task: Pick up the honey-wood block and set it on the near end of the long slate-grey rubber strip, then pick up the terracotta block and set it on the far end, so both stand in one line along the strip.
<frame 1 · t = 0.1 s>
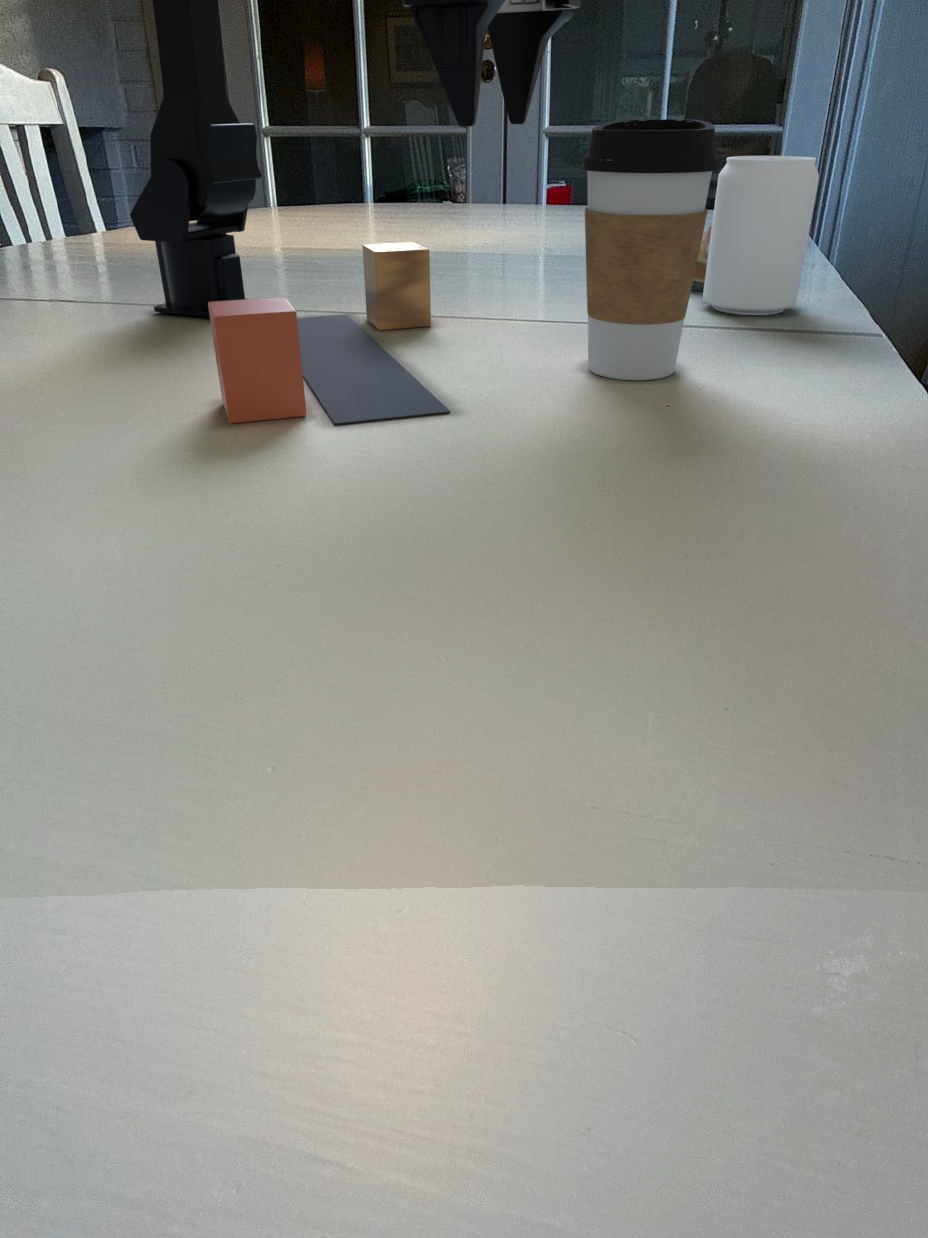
hand: (493, 124, 61), 15 cm above the table, tool pointing down, fingers open, 9 cm apart
beverage can: (747, 310, 78), on the table
coffee cup: (630, 371, 60), on the table
wood block: (398, 322, 74), on the table
terracotta block: (263, 409, 53), on the table
line strip: (342, 358, 63), on the table
ornament: (720, 290, 87), on the table
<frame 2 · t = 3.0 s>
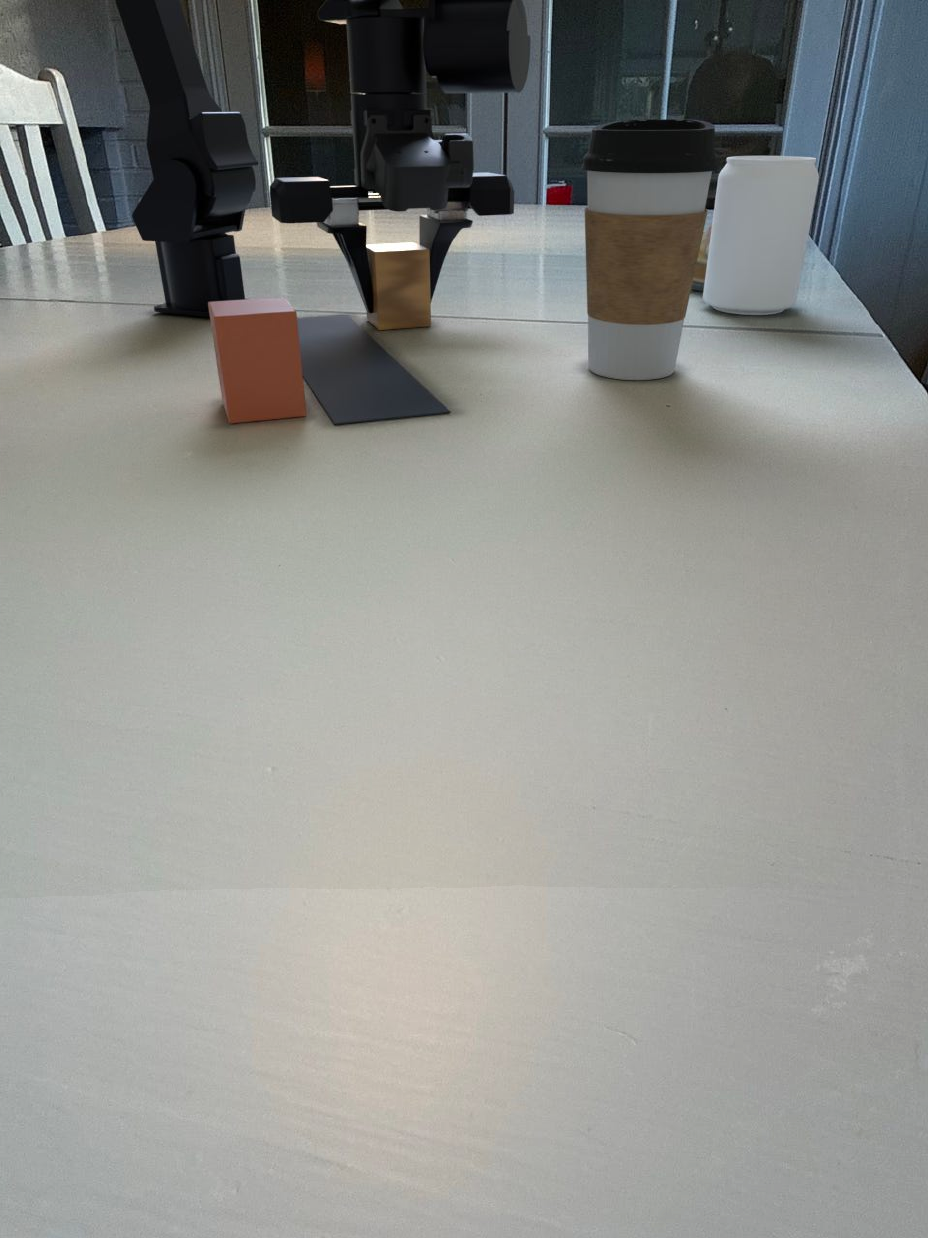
hand: (397, 310, 73), 1 cm above the table, tool pointing down, fingers closed on wood block, 4 cm apart
wood block: (398, 322, 74), on the table, touching gripper
everything else where it was.
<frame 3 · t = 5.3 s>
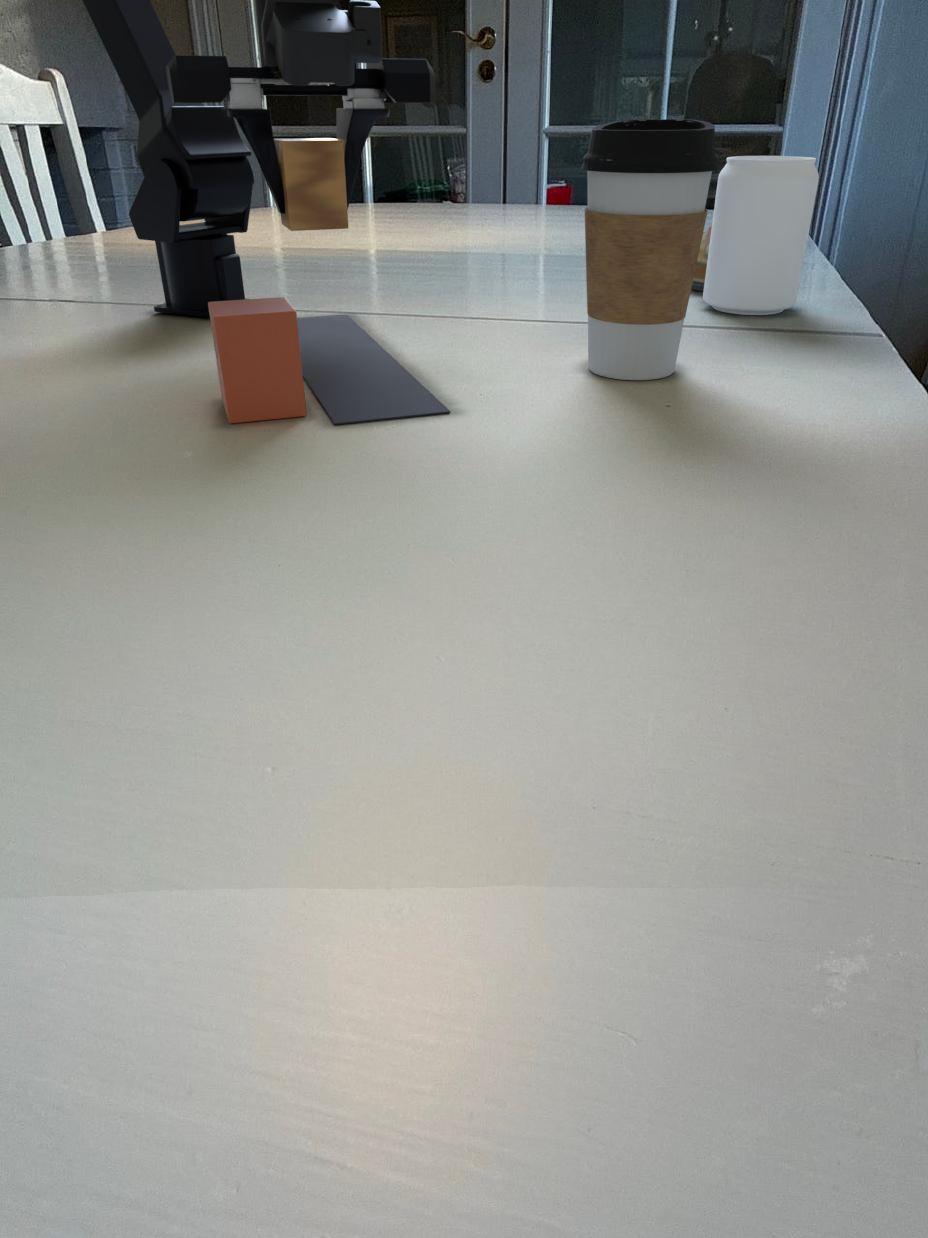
hand: (312, 212, 68), 9 cm above the table, tool pointing down, fingers closed on wood block, 4 cm apart
wood block: (314, 226, 68), point 8 cm above the table, touching gripper
everything else where it was.
when the fingers open (1 cm above the table, at t = 7.5 s): wood block stays where it is, resting on line strip.
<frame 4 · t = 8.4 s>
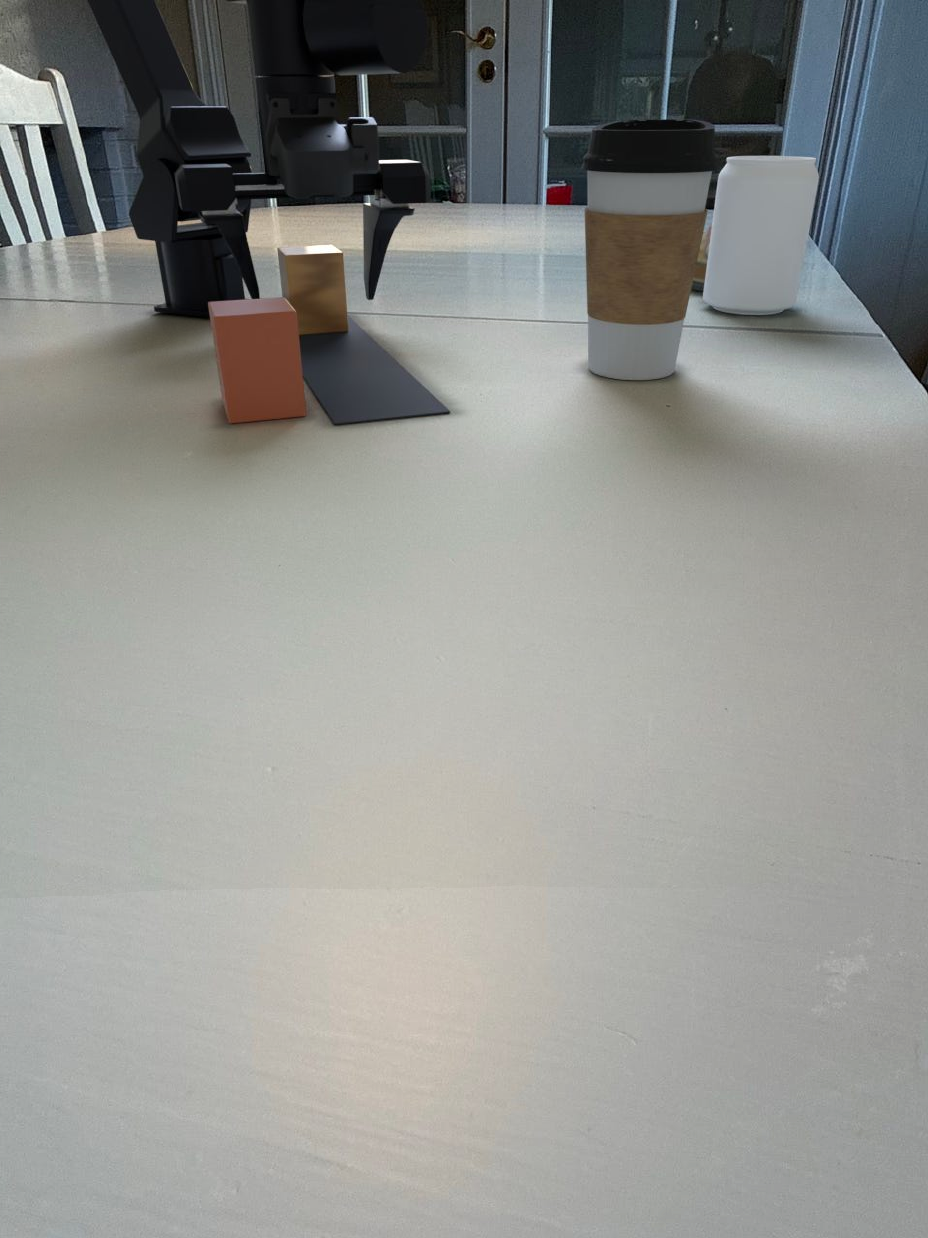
hand: (314, 302, 71), 2 cm above the table, tool pointing down, fingers open, 9 cm apart
wood block: (316, 327, 72), resting on line strip
everything else where it was.
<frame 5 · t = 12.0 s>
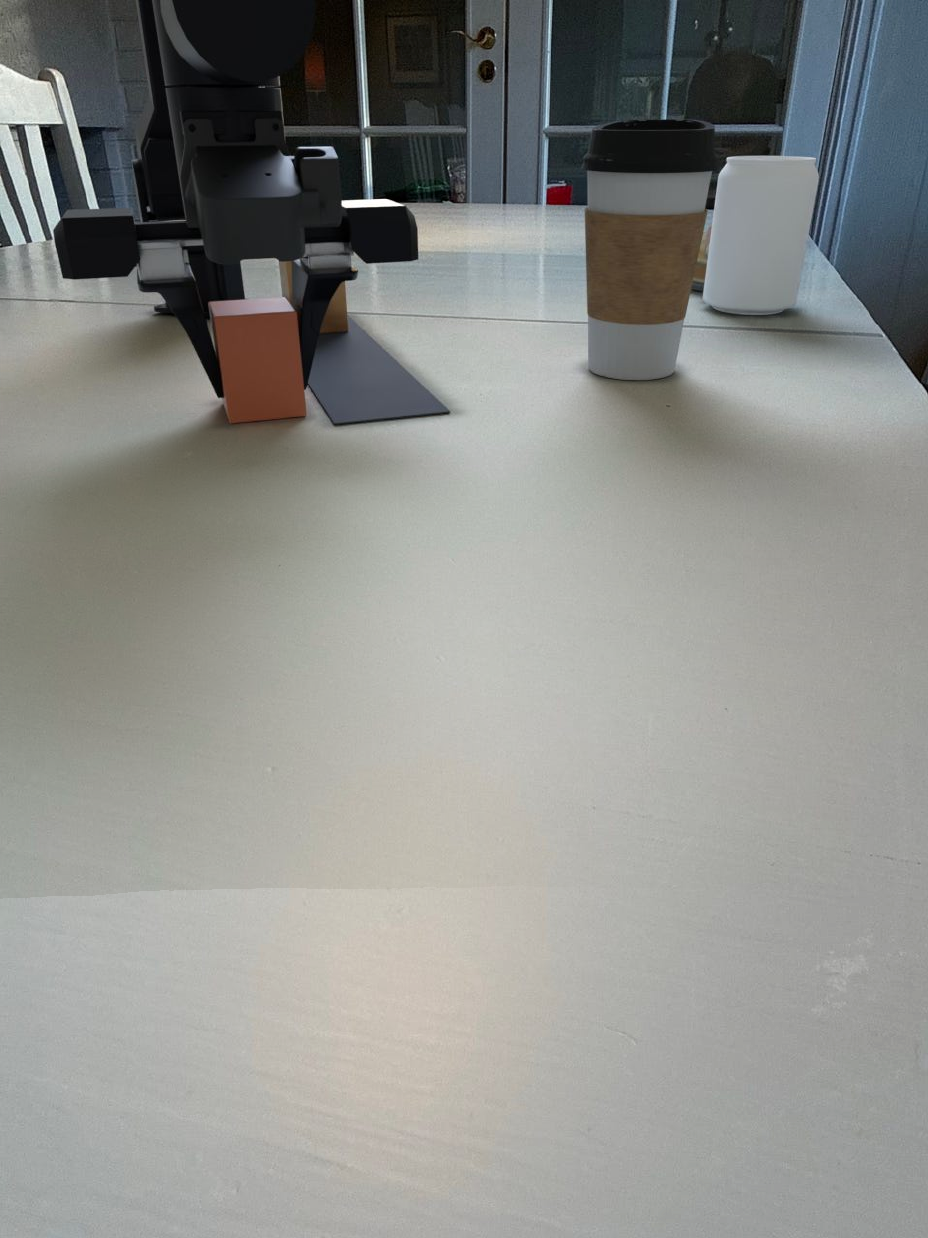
hand: (261, 392, 52), 1 cm above the table, tool pointing down, fingers closed on terracotta block, 4 cm apart
terracotta block: (263, 409, 53), on the table, touching gripper
everything else where it was.
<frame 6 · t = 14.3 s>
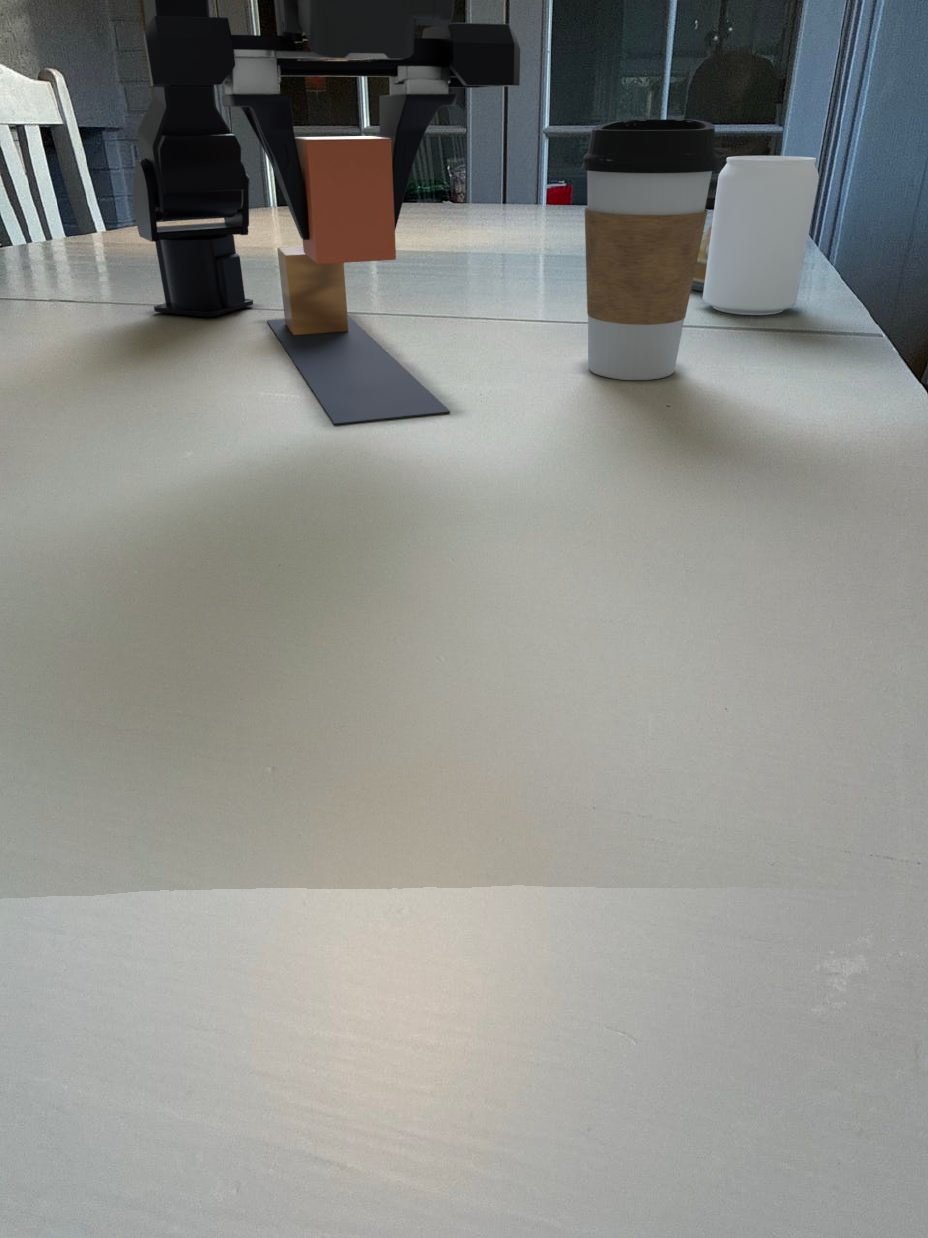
hand: (347, 237, 49), 9 cm above the table, tool pointing down, fingers closed on terracotta block, 4 cm apart
terracotta block: (348, 256, 50), point 8 cm above the table, touching gripper
everything else where it was.
when the fingers open (1 cm above the table, at t = 16.6 s): terracotta block stays where it is, resting on line strip.
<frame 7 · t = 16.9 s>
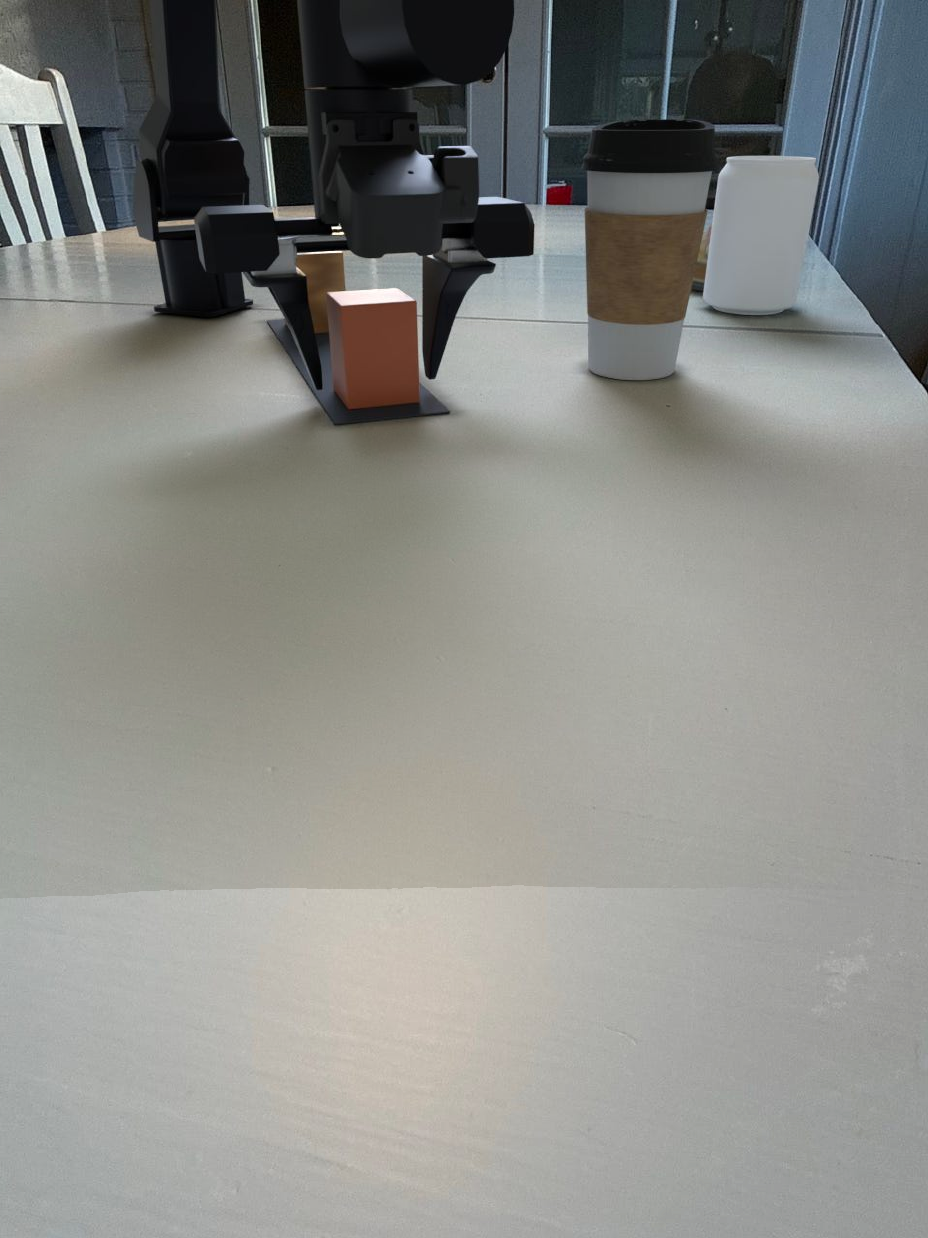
hand: (375, 383, 54), 1 cm above the table, tool pointing down, fingers open, 7 cm apart
terracotta block: (375, 396, 54), resting on line strip
everything else where it was.
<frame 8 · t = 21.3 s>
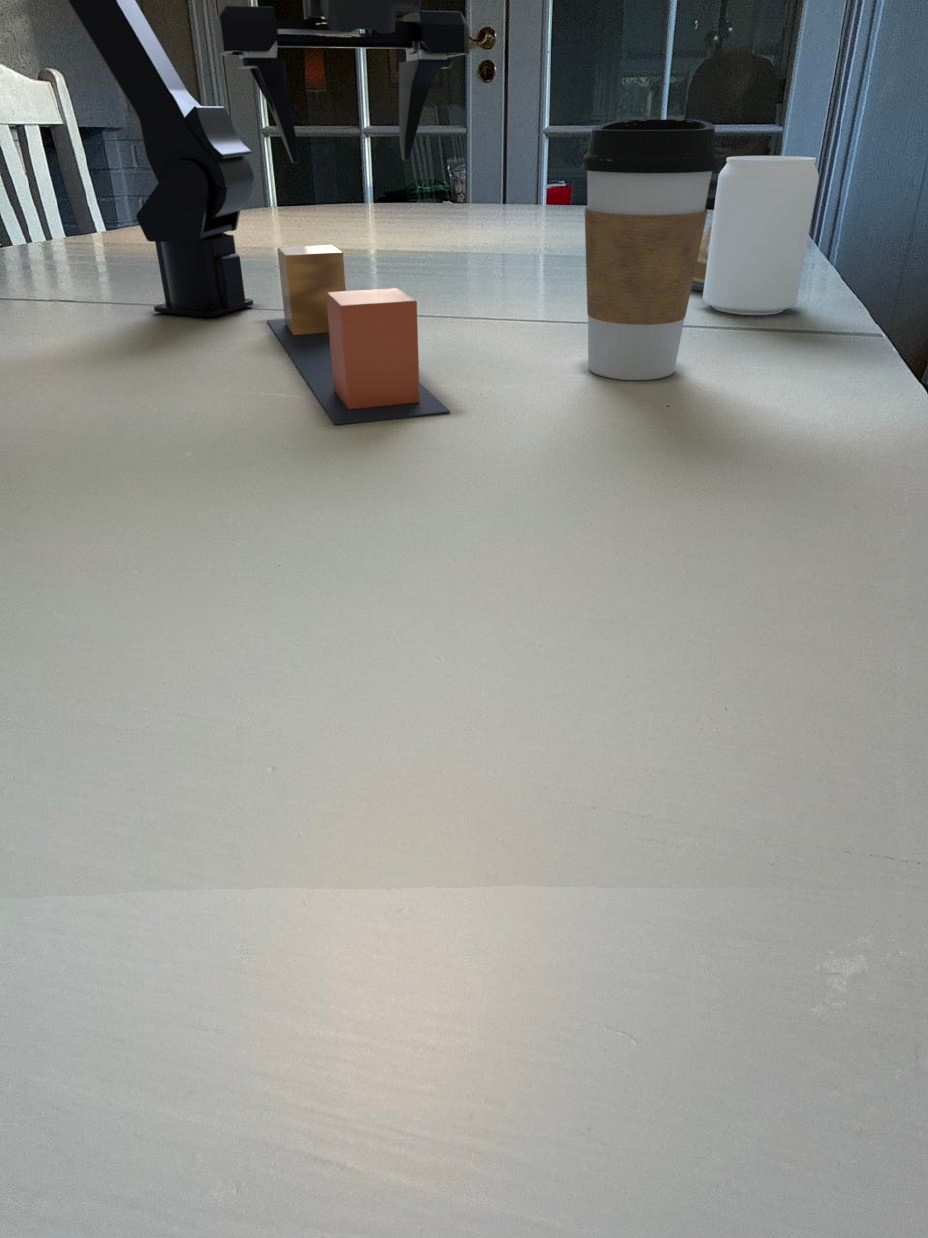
hand: (351, 161, 71), 12 cm above the table, tool pointing down, fingers open, 9 cm apart
nothing on the table moved.
at the end: wood block 0.0 cm from the target spot on the line strip, point 0.1 cm above the line strip's base; terracotta block 0.0 cm from the target spot on the line strip, point 0.1 cm above the line strip's base; terracotta block tilted 0° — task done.
